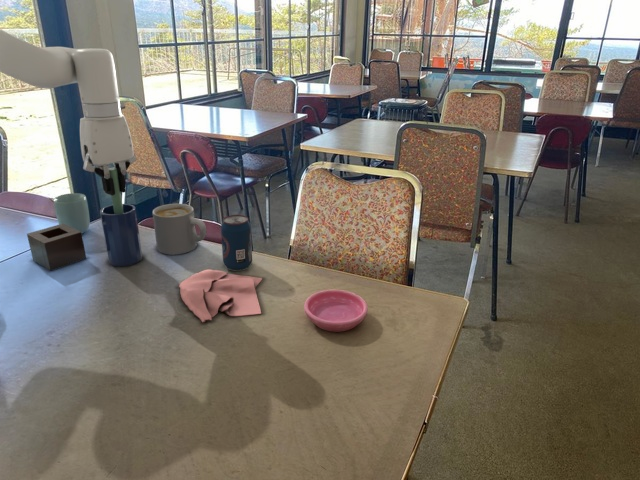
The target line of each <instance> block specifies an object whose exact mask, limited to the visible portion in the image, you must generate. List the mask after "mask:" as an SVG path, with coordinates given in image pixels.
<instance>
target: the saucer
mask: <svg viewBox="0 0 640 480" xmlns="http://www.w3.org/2000/svg"><path fill="white" fill-rule="evenodd" d="M303 310H304V311H303V312H304V313H305V316H306V317H307V318H308V320H309V321H310V322H312V323H313V324H314V325H315V326H317V327H318V328H320V329H322V330H324V331H328V332H335V333H336V332H337V333H338V332H339V333H340V332H345V331H346V332H347V331H349V330H352V329H354V328H355V327H356V326H358V325H359V324H361V322H362V321H363V320H365V319H366V317H367V316H368V312H369V307H368V304H367V302H366V300H365V299H364V298H363V297H361V296H360V295H358V294H357V293H354V292H352V291H348V290H343V289H326V290H320V291H318V292H315V293H313V294H311V295H309V297H308V298H306V300H305V301H304V305H303Z"/></svg>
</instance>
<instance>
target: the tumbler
mask: <svg viewBox="0 0 640 480" xmlns="http://www.w3.org/2000/svg"><path fill="white" fill-rule="evenodd" d="M122 205H123V212H124V213H122V214H114V208H113V204H110V205H107V206H104V207H102V208H101V209H100V210H99V214H100V220H101V227H102V231H103V236H104V242H105V249H106V255H107V259H108V263H109V264H110V265H111V266H113V267H127V266H132V265H135V264H137V263H140V262H141V261H142V259H143V251H142V243H141V237H140V230H139V223H138V216H137V209H136V206H135V205H133V204H130V203H122Z"/></svg>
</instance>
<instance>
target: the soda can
mask: <svg viewBox="0 0 640 480" xmlns="http://www.w3.org/2000/svg"><path fill="white" fill-rule="evenodd" d="M251 224H252V223H251V222H250V221H249V217H248V216H246V215H244V214H243V215H242V214H231V215H227V216H225V217H223V219H222V222H221V225H220V237H221V251H222V252H221V253H222V263H223V265H224V266H225V268H226V269H227V270H229V271H233V272H240V271H246V270H248V269H249V268H250V266H251V265H252V263H253V246H252V245H253V242H252V240H253V239H252V238H253V237H252V225H251Z"/></svg>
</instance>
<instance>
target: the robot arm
mask: <svg viewBox="0 0 640 480" xmlns="http://www.w3.org/2000/svg"><path fill="white" fill-rule="evenodd" d="M0 73H2V74H5V75H7V76H8V77H11V78H14V79H16V80H18V81H21V82H23V83H25V84H28V85H30V86H33V87H36V88H39V89H46V90H47V89H48V90H51V89H55V88H58V87H62V86H68V85H71V84H77V86H78V91H79V97H80V102H81V107H82V113H83V117H81V118H80V119H79V142H80V143H79V144H80V151H81V157H82V162H83V166H82V169H83V170H84V171H87V172H89V173H94V174H96V175H97V176H98V177H100V179H101V185H102V190H103V191H104V193H105V194H107V195H110V196H111V195H115V189H114V183H113V179H112V178H110V173H109V168H110V167H109V165H112V164H113V166H114V167H113V168H117V174H118V180H119V186H120V193H126V192H127V189H126V187H127V183H126V177H125V176H126V174H127V171H128V169H129V167H131V165H132V164H134V163H135V162H136V161H137V157H136V155H135V153H134V152H135V151H134V145H133V140H132V139H133V138H132V135H131V132H130V127H129V125H128V122H127V119H126V117H125V115H124V114H122V113H123V110H125V109H126V103H125V102H121V100H120V94H119V85H118V79H117V73H116V66H115V60H114V56H113V53H112V52H111V51H110V50H109V49H107V48H98V47H97V48H95V47H94V48H93V47H92V48H90V47H88V48H72V47H67V46H45V47H44V46H43V47H39V46H37V45H35V44H32V43H30V42H27V41H26V40H23V39H21V38H18V37H16V36H15V35H12V34H11V33H9V32H7V31H5V30H3V29H2V28H1V27H0Z"/></svg>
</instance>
